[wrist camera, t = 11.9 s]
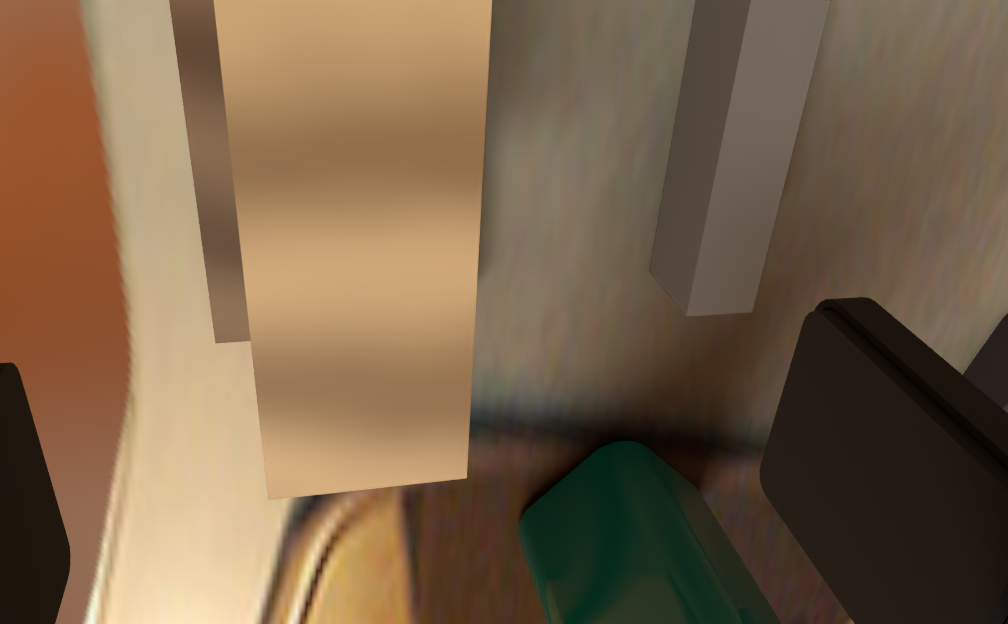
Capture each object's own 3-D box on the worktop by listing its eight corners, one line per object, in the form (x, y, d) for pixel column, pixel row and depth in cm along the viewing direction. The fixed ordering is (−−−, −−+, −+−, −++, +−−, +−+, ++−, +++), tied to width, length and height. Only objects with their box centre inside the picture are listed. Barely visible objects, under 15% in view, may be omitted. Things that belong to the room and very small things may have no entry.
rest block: (743, -273, 27) (809, -286, 23) (824, -264, 27) (899, -275, 24) (649, 271, 37) (686, 316, 33) (710, 268, 37) (752, 312, 34)
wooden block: (176, -464, 16) (157, -518, 13) (482, -419, 17) (516, -460, 15) (269, 436, 27) (268, 499, 24) (449, 419, 28) (466, 478, 26)
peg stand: (127, -388, 22) (59, -480, 15) (490, -343, 24) (571, -405, 18) (218, 316, 33) (203, 442, 26) (462, 302, 35) (505, 414, 29)
